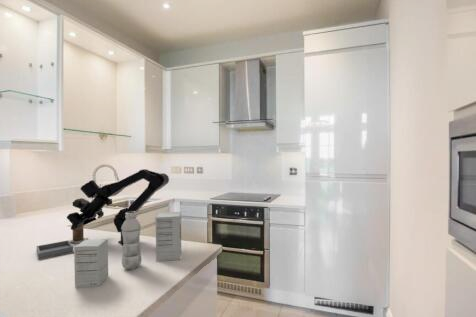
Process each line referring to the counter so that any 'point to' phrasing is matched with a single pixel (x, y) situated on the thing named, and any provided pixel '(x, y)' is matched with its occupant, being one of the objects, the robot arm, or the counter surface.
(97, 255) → the supplement box
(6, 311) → the counter surface
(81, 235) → the scraper handle
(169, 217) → the supplement box
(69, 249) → the tray
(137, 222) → the plastic bottle
